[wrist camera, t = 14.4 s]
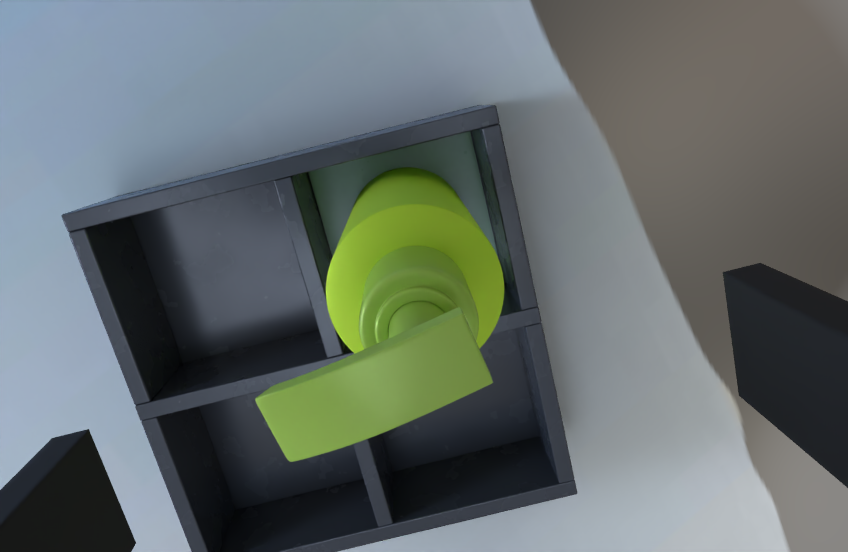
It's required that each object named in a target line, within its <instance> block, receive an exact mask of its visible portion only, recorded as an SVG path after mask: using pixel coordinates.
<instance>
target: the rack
mask: <svg viewBox="0 0 848 552" xmlns="http://www.w3.org/2000/svg"><path fill="white" fill-rule="evenodd" d="M402 167H414V168H420V169H424V170H427V171H430V172H432V173H434V174H436V175H438V176H439V177H441V178H442V179H444V180H445V181H446V182H447V183H448V184H449V185H450V186H451V187H452V188H453V189H454V191H455V192H456V194H457V195H458V197H459V198H460V200H461V201H462V202H463V204H464V205H465V207H466V208H467V210H468V211H469V213H470V214H471V216H472V217H473V218H474V220H475V221H476V223H477V224H478V226H479V227H480V229H481V230H482V232H483V233H484V234H485V236H486V237H487V239H488V240H489V242H490V243H491V245H492V247H493V248H494V250H495V252H496V254H497V256H498V259H499V262H500V265H501V268H502V272H503V278H504V300H503V306H502V310H501V314H500V317H499V319H498V322H497V324H496V326H495V328H494V330H493V332H492V333H491V335H490V337H489V338H488V339H487V341H486V342H485V343H484V344H483V346H482V347H481V348H480V351H481V354H482V356H483V358H484V360H485V363H486V365H487V367H488V369H489V372H490V374H491V377H492V380H493V383H492V384H490V385H488V386H486V387H484V388H482V389H480V390H477V391H475V392H473V393H471V394H469V395H467V396H465V397H462V398H460V399H458V400H456V401H454V402H452V403H450V404H447V405H445V406H443V407H441V408H439V409H437V410H434V411H432V412H430V413H428V414H426V415H423V416H421V417H419V418H417V419H414V420H412V421H410V422H408V423H405V424H403V425H401V426H398V427H396V428H394V429H391V430H389V431H386V432H384V433H381V434H379V435H376V436H374V437H371V438H369V439H366V440H363V441H360V442H358V443H355V444H352V445H349V446H346V447H343V448H340V449H337V450H334V451H330V452H327V453H324V454H320V455H317V456H314V457H310V458H306V459H303V460H299V461H294V462H290V461H288V460H287V458H286V456H285V455H284V453H283V451H282V449H281V448H280V446H279V444H278V442H277V440H276V439H275V437H274V435H273V433H272V431H271V429H270V428H269V426H268V424H267V422H266V420H265V418H264V417H263V415H262V413H261V411H260V409H259V407H258V406H257V404H256V401H255V399H256V397H258V396H259V395H260V394H262V393H263V392H264V391H266V390H267V389H269V388H270V387H272V386H274V385H276V384H279V383H282V382H284V381H287V380H290V379H293V378H296V377H299V376H301V375H304V374H307V373H309V372H312V371H315V370H317V369H320V368H322V367H325V366H327V365H329V364H332V363H334V362H337V361H339V360H341V359H344V358H346V357H348V356H351V355H353V354H354V353H353V352H352V351H351V350H350V349H349V348H348V347H347V345H346V344H345V343H344V342H343V341H342V339H341V338H340V336H339V335H338V333H337V331H336V329H335V328H334V325H333V323H332V321H331V318H330V315H329V312H328V307H327V301H326V280H327V273H328V269H329V266H330V263H331V260H332V257H333V255H334V253H335V250H336V248H337V245H338V243H339V240H340V238H341V236H342V233H343V231H344V228H345V226H346V223H347V221H348V219H349V216H350V214H351V211H352V209H353V206H354V204H355V202H356V199H357V197H358V196H359V194H360V192H361V191H362V190H363V188H364V187H365V186H366V185H367V184H368V183H369V182H370V181H371V180H373V179H374V178H375V177H377V176H378V175H380V174H382V173H384V172H386V171H389V170H392V169H396V168H402ZM62 218H63V221H64V224H65V226H66V229H67V231H68V232H69V236H70V238H71V241H72V244H73V246H74V249H75V251H76V254H77V256H78V259H79V262H80V264H81V267H82V269H83V272H84V275H85V277H86V280H87V282H88V285H89V287H90V290H91V293H92V295H93V298H94V300H95V303H96V305H97V308H98V311H99V313H100V316H101V318H102V321H103V324H104V326H105V329H106V331H107V334H108V336H109V339H110V342H111V344H112V347H113V349H114V352H115V355H116V357H117V360H118V362H119V365H120V367H121V370H122V373H123V375H124V378H125V380H126V383H127V386H128V388H129V391H130V393H131V396H132V398H133V401H134V404H135V405H136V406H135V407H136V410H137V412H138V415H139V418H140V420H142V425H143V427H144V430H145V432H146V435H147V438H148V440H149V443H150V445H151V448H152V450H153V453H154V456H155V458H156V461H157V463H158V466H159V469H160V471H161V474H162V476H163V479H164V481H165V484H166V487H167V489H168V492H169V494H170V497H171V499H172V502H173V505H174V507H175V510H176V512H177V515H178V518H179V520H180V523H181V525H182V528H183V530H184V533H185V536H186V538H187V541H188V543H189V546H190V549H191V551H192V552H337V551H341V550H345V549H349V548H354V547H358V546H362V545H366V544H370V543H374V542H379V541H383V540H387V539H391V538H395V537H399V536H404V535H408V534H412V533H416V532H420V531H424V530H429V529H433V528H437V527H441V526H445V525H449V524H454V523H458V522H462V521H466V520H470V519H474V518H479V517H483V516H487V515H491V514H495V513H499V512H504V511H508V510H512V509H516V508H520V507H524V506H529V505H533V504H537V503H541V502H545V501H549V500H554V499H558V498H562V497H566V496H570V495H574V494H577V489H576V484H575V480H574V475H573V470H572V465H571V460H570V456H569V451H568V446H567V441H566V437H565V432H564V427H563V422H562V418H561V413H560V408H559V403H558V399H557V394H556V389H555V384H554V380H553V375H552V370H551V365H550V361H549V356H548V351H547V346H546V342H545V337H544V332H543V327H542V323H541V318H540V313H539V308H538V304H537V299H536V294H535V289H534V285H533V280H532V275H531V270H530V266H529V261H528V256H527V251H526V247H525V242H524V237H523V232H522V228H521V223H520V218H519V213H518V209H517V204H516V199H515V194H514V190H513V185H512V180H511V175H510V171H509V166H508V161H507V156H506V152H505V147H504V142H503V137H502V132H501V128H500V125H499V118H498V113H497V109H496V106H494V105H477V106H473V107H469V108H465V109H461V110H457V111H453V112H449V113H446V114H442V115H438V116H434V117H430V118H426V119H422V120H418V121H414V122H410V123H406V124H402V125H398V126H394V127H390V128H386V129H382V130H378V131H374V132H370V133H366V134H362V135H358V136H354V137H350V138H346V139H343V140H339V141H335V142H331V143H327V144H323V145H319V146H315V147H311V148H307V149H303V150H299V151H295V152H291V153H287V154H283V155H279V156H275V157H271V158H267V159H263V160H259V161H255V162H251V163H247V164H243V165H239V166H236V167H232V168H228V169H224V170H220V171H216V172H212V173H208V174H204V175H200V176H196V177H192V178H188V179H184V180H180V181H176V182H172V183H168V184H164V185H160V186H156V187H152V188H148V189H144V190H140V191H136V192H133V193H129V194H125V195H121V196H117V197H113V198H110V199H107V200H104V201H101V202H98V203H95V204H92V205H89V206H86V207H83V208H80V209H77V210H74V211H71V212H68V213H65V214H63V215H62Z"/></svg>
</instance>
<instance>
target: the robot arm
mask: <svg viewBox="0 0 848 552" xmlns="http://www.w3.org/2000/svg"><path fill="white" fill-rule="evenodd" d="M723 276H724V285H725V292H726V300H727V308H728V315H729V323H730V330H731V338H732V346H733V354H734V361H735V368H736V376H737V384H738V392H739V396H740V397H741V398H743V399H744V400H745V401H746V402H747V403H748V404H750V405H751V406H752V407H753V408H754V409H756V410H757V411H758V412H759V413H760V414H761V415H763V416H764V417H765V418H766V419H767V420H768V421H770V422H771V423H772V424H773V425H775V426H776V427H777V428H778V429H779V430H780V431H782V432H783V433H784V434H785V435H786V436H787V437H789V438H790V439H791V440H792V441H793V442H794V443H796V444H797V445H798V446H799V447H800V448H802V449H803V450H804V451H805V452H806V453H807V454H809V455H810V456H811V457H812V458H813V459H815V460H816V461H817V462H818V463H819V464H820V465H822V466H823V467H824V468H825V469H826V470H827V471H829V472H830V473H831V474H832V475H833V476H835V477H836V478H837V479H838V480H839V481H840V482H842V483H843V484H844V485H845V486H846V487H847V488H848V301H845V300H843V299H841V298H839V297H836V296H834V295H832V294H829V293H827V292H825V291H823V290H820V289H818V288H816V287H814V286H812V285H809V284H807V283H805V282H802V281H800V280H798V279H796V278H793V277H791V276H789V275H787V274H784V273H782V272H780V271H777V270H775V269H773V268H771V267H768V266H766V265H764V264H761V263H758V264H754V265H750V266H746V267H742V268H738V269H734V270H730V271H726V272H723ZM135 544H136V542H135V539H134V537H133V535H132V532H131V530H130V527H129V525H128V523H127V520H126V518H125V515H124V513H123V511H122V508H121V506H120V503H119V501H118V499H117V496H116V494H115V491H114V489H113V487H112V484H111V482H110V479H109V477H108V475H107V472H106V470H105V467H104V465H103V463H102V460H101V458H100V455H99V453H98V451H97V448H96V446H95V443H94V441H93V439H92V436H91V434H90V431H89V429H88V430H84V431H80V432H76V433H71V434H67V435H63V436H59V437H55V438H52V439H51V440H50V441H49V442H48V443H47V444H46V445H45V446H44V447H43V448H42V449H41V450H40V451H39V452H38V453H37V454H36V455H35V456H34V457H33V458H32V459H31V460H30V461H29V462H28V463H27V464H26V465H25V466H24V467H23V468H22V469H21V470H20V471H19V472H18V473H17V474H16V475H15V476H14V477H13V478H12V479H11V480H10V481H9V482H8V483H7V484H6V485H5V486H4V487H3V488H2V489H1V490H0V552H131V551H132V549H133V547H134V546H135Z"/></svg>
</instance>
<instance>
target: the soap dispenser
mask: <svg viewBox="0 0 848 552" xmlns="http://www.w3.org/2000/svg"><path fill="white" fill-rule="evenodd" d="M503 300H504V278H503V272H502V268H501V265H500V262H499V259H498V256H497V254H496V252H495V250H494V248H493V247H492V245H491V243H490V242H489V240H488V239H487V237H486V236H485V234H484V233H483V232H482V230H481V229H480V227H479V226H478V224H477V223H476V221H475V220H474V218H473V217H472V216H471V214H470V213H469V211H468V210H467V208H466V207H465V205H464V204H463V202H462V201H461V200H460V198H459V197H458V195H457V194H456V192H455V191H454V189H453V188H452V187H451V186H450V185H449V184H448V183H447V182H446V181H445V180H444V179H442V178H441V177H439V176H438V175H436V174H434V173H432V172H430V171H427V170H424V169H420V168H414V167H402V168H396V169H392V170H389V171H386V172H384V173H382V174H380V175H378V176H377V177H375V178H374V179H373V180H371V181H370V182H369V183H368V184H367V185H366V186H365V187H364V188H363V190H362V191H361V192H360V194H359V196H358V197H357V199H356V202H355V204H354V206H353V209H352V211H351V214H350V216H349V219H348V221H347V223H346V226H345V228H344V231H343V233H342V236H341V238H340V240H339V243H338V245H337V248H336V250H335V253H334V255H333V257H332V260H331V263H330V266H329V269H328V273H327V280H326V301H327V307H328V312H329V315H330V318H331V321H332V323H333V325H334V328H335V329H336V331H337V333H338V335H339V336H340V338H341V339H342V341H343V342H344V343H345V344H346V345H347V347H348V348H349V349H350V350H351V351H352V352H353V353H354V354H353V355H351V356H348V357H346V358H344V359H341V360H339V361H337V362H334V363H332V364H329V365H327V366H325V367H322V368H320V369H317V370H315V371H312V372H309V373H307V374H304V375H301V376H299V377H296V378H293V379H290V380H287V381H284V382H282V383H279V384H276V385H274V386H272V387H270V388H269V389H267V390H266V391H264V392H263V393H262V394H260V395H259V396H258V397H256V399H255V401H256V404H257V406H258V407H259V409H260V411H261V413H262V415H263V417H264V418H265V420H266V422H267V424H268V426H269V428H270V429H271V431H272V433H273V435H274V437H275V439H276V440H277V442H278V444H279V446H280V448H281V449H282V451H283V453H284V455H285V456H286V458H287V460H288V461H290V462H294V461H299V460H303V459H306V458H310V457H314V456H317V455H320V454H324V453H327V452H330V451H334V450H337V449H340V448H343V447H346V446H349V445H352V444H355V443H358V442H360V441H363V440H366V439H369V438H371V437H374V436H376V435H379V434H381V433H384V432H386V431H389V430H391V429H394V428H396V427H398V426H401V425H403V424H405V423H408V422H410V421H412V420H414V419H417V418H419V417H421V416H423V415H426V414H428V413H430V412H432V411H434V410H437V409H439V408H441V407H443V406H445V405H447V404H450V403H452V402H454V401H456V400H458V399H460V398H462V397H465V396H467V395H469V394H471V393H473V392H475V391H477V390H480V389H482V388H484V387H486V386H488V385H490V384H492V383H493V380H492V377H491V374H490V372H489V369H488V367H487V365H486V363H485V360H484V358H483V356H482V354H481V351H480V348H481V347H482V346H483V344H484V343H485V342H486V341H487V339H488V338H489V337H490V335H491V333H492V332H493V330H494V328H495V326H496V324H497V322H498V319H499V317H500V314H501V310H502V306H503Z"/></svg>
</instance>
